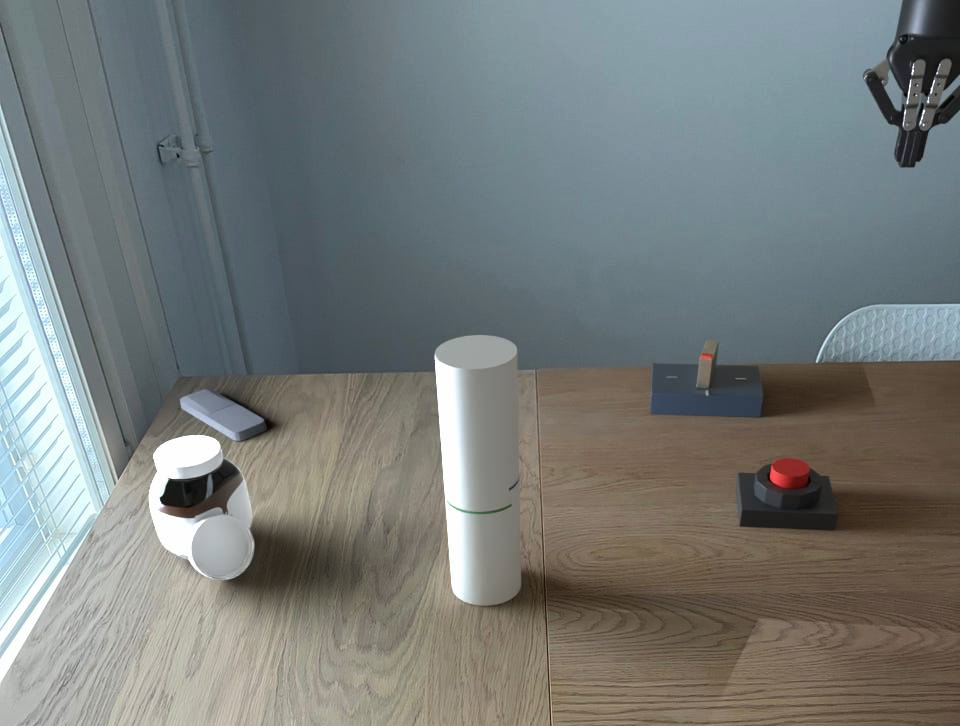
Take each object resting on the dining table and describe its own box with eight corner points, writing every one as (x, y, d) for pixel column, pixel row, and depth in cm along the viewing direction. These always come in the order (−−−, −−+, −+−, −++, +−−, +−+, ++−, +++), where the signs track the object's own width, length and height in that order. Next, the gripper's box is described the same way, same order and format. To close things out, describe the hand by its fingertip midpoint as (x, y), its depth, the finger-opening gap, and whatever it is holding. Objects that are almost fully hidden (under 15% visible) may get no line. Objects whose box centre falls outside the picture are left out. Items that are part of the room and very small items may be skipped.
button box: (825, 492, 112) (831, 461, 109) (834, 531, 105) (841, 499, 103) (735, 488, 113) (739, 458, 110) (739, 526, 107) (743, 495, 104)
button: (805, 472, 108) (808, 458, 107) (809, 491, 105) (812, 477, 104) (768, 471, 109) (770, 457, 108) (770, 490, 106) (773, 475, 105)
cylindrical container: (533, 575, 101) (531, 343, 86) (499, 613, 97) (491, 375, 81) (474, 557, 104) (462, 329, 89) (438, 593, 100) (418, 359, 84)
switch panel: (755, 384, 133) (758, 362, 131) (760, 419, 126) (764, 396, 124) (651, 381, 135) (652, 360, 133) (649, 416, 127) (651, 393, 125)
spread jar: (213, 514, 113) (190, 422, 106) (293, 536, 109) (275, 443, 102) (141, 569, 105) (111, 474, 98) (224, 596, 101) (199, 499, 93)
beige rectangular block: (703, 368, 131) (706, 337, 128) (715, 369, 130) (719, 338, 128) (696, 387, 126) (699, 356, 124) (708, 389, 126) (712, 357, 123)
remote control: (270, 433, 129) (209, 395, 137) (268, 421, 128) (206, 383, 136) (238, 446, 127) (178, 407, 135) (236, 434, 126) (175, 395, 134)
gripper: (1007, -28, 100) (961, 156, 111) (871, -24, 102) (839, 157, 113) (1027, -19, 94) (976, 175, 105) (883, -15, 96) (848, 175, 107)
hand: (905, 165), depth 109 cm, fingers closed
